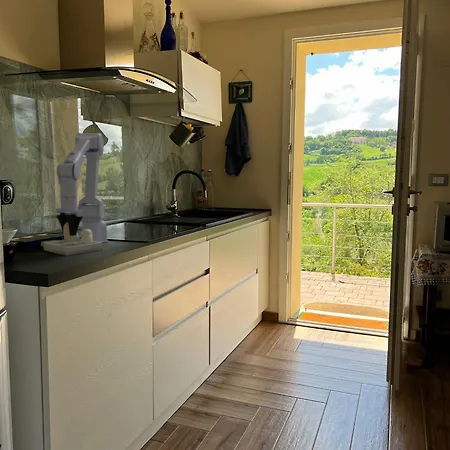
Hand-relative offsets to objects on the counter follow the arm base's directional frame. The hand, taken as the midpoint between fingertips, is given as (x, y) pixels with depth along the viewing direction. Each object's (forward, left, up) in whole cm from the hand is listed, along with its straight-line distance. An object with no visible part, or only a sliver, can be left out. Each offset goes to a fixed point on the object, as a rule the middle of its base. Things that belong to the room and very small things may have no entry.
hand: (69, 234), depth 163 cm
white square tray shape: (-4, -4, -6) cm, 8 cm away
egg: (0, 0, -2) cm, 2 cm away
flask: (-18, -29, -7) cm, 34 cm away
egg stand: (-3, -17, -6) cm, 18 cm away
